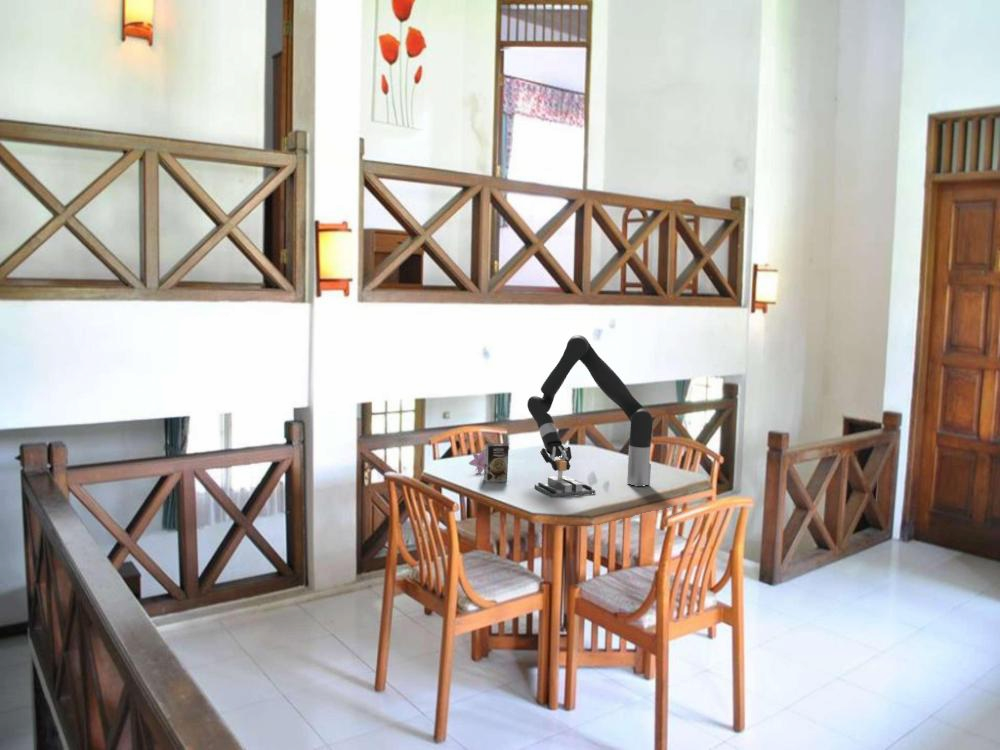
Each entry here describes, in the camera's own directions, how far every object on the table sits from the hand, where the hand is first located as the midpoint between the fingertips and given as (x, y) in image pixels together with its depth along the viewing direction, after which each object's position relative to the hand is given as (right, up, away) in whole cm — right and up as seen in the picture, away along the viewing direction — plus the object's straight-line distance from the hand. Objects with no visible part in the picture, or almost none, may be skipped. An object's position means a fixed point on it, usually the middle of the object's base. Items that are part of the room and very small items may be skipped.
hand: (562, 469), depth 346 cm
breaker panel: (+1, -9, -1) cm, 9 cm away
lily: (-35, -5, +27) cm, 44 cm away
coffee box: (-28, -7, +12) cm, 31 cm away
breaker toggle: (-1, -6, +2) cm, 7 cm away
